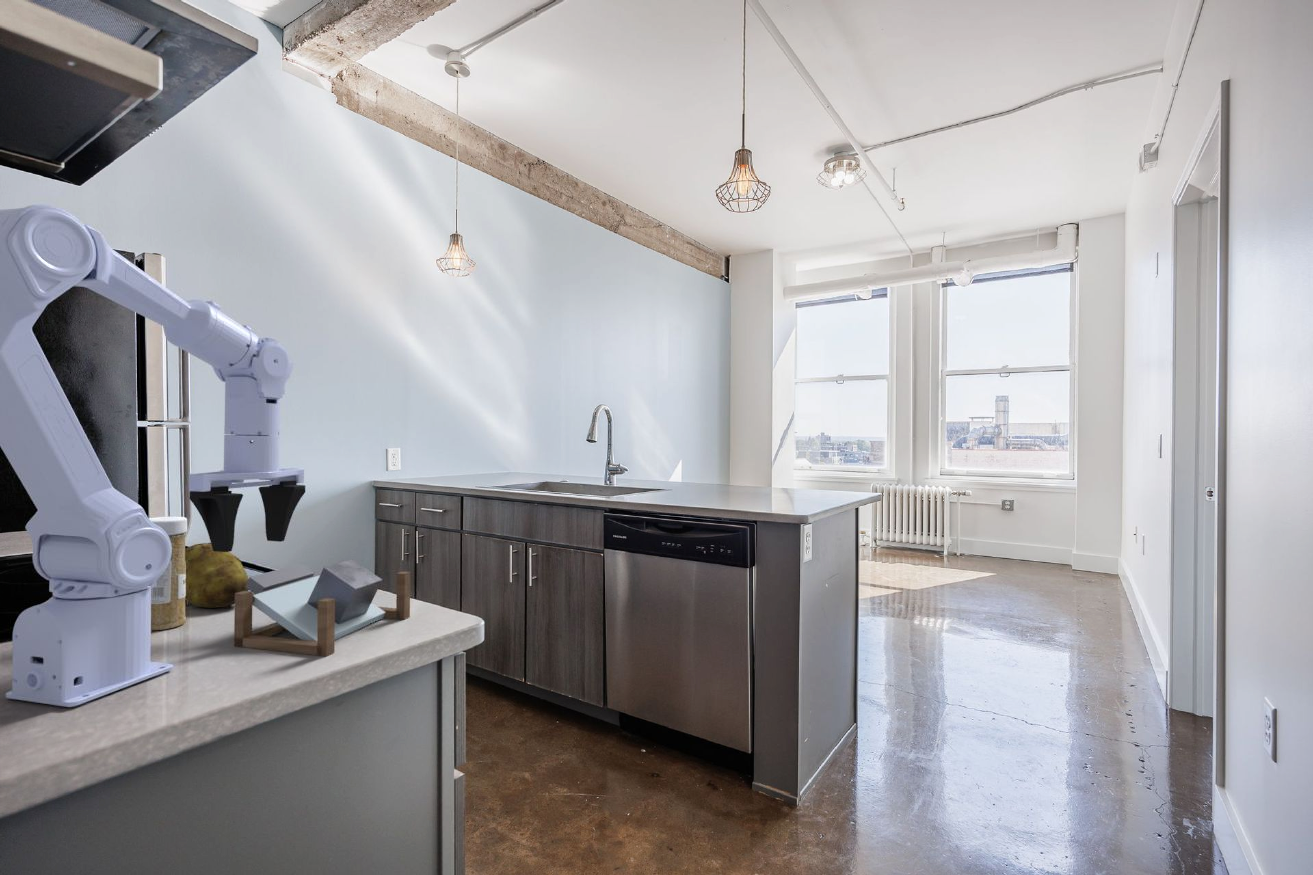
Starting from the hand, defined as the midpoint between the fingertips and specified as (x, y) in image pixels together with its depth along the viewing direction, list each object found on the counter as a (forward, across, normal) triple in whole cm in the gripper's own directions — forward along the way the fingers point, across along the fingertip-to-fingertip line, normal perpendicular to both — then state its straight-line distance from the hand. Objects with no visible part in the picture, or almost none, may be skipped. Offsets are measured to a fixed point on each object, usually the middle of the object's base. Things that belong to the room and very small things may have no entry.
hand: (250, 545), depth 78 cm
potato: (+10, -8, -15) cm, 20 cm away
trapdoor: (+8, -2, +7) cm, 10 cm away
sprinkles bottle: (+10, +2, -11) cm, 15 cm away
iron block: (+8, -4, +10) cm, 13 cm away
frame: (+10, -2, +9) cm, 14 cm away
